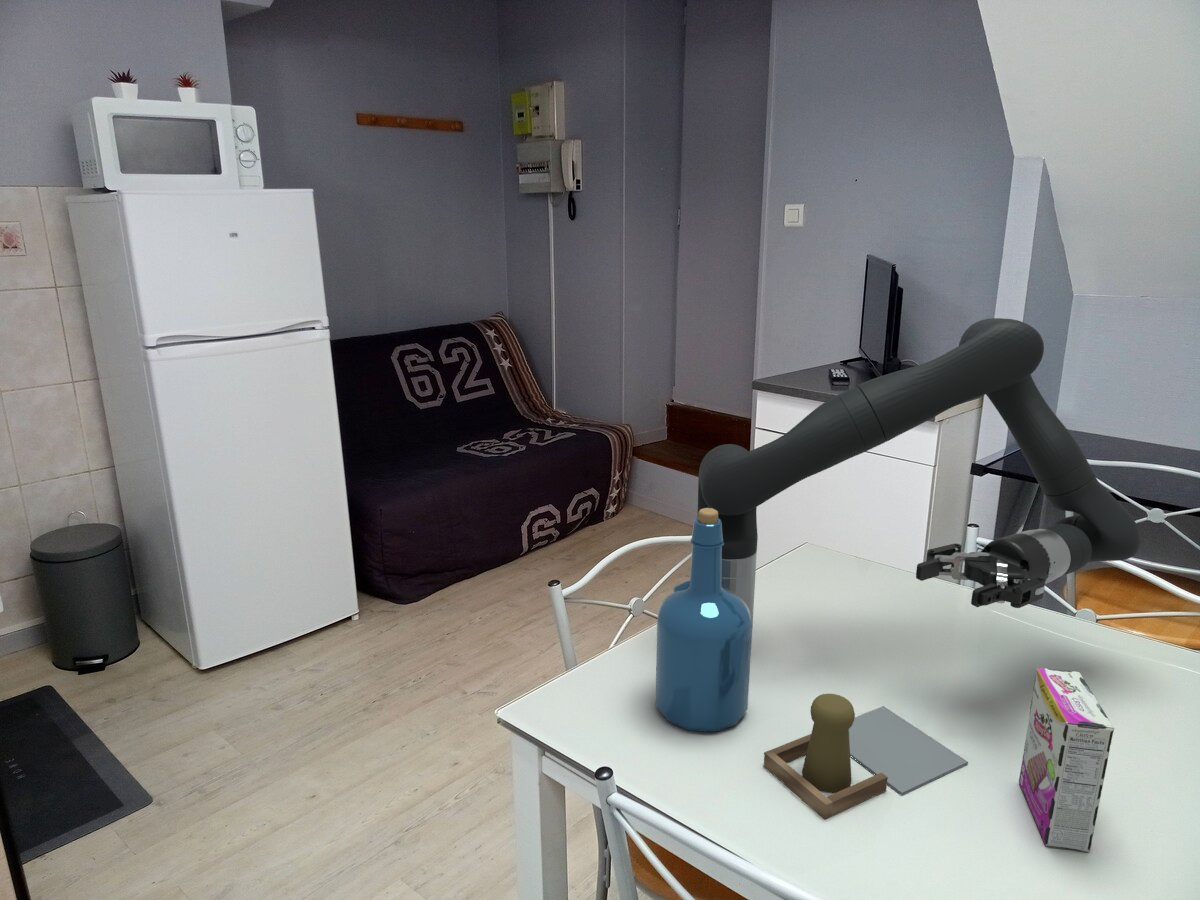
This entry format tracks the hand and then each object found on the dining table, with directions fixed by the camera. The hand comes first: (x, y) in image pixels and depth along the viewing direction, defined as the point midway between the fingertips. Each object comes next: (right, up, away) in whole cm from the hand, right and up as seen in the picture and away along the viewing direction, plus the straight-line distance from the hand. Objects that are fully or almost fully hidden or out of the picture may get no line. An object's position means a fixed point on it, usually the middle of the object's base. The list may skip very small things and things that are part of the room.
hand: (945, 585), depth 105 cm
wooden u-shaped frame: (-16, -24, -2) cm, 28 cm away
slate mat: (-6, -22, +3) cm, 23 cm away
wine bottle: (-30, -20, +12) cm, 38 cm away
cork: (-16, -24, -2) cm, 29 cm away
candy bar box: (+9, -26, -9) cm, 29 cm away
